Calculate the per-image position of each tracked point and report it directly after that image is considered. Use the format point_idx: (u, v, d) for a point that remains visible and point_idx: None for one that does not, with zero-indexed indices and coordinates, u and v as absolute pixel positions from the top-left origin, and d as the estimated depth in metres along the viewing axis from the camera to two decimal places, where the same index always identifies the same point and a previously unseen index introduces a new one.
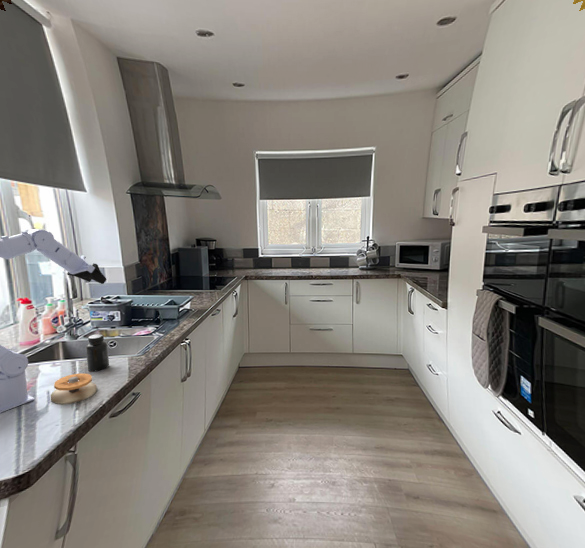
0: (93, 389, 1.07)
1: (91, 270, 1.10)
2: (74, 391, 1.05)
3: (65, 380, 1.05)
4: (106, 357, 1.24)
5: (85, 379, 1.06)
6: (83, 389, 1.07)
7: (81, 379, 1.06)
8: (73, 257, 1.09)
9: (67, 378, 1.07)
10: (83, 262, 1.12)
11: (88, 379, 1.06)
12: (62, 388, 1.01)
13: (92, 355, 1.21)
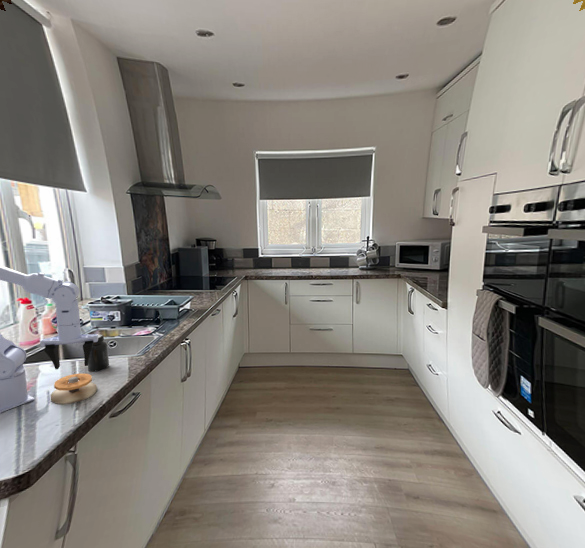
0: (93, 389, 1.07)
1: (97, 339, 1.06)
2: (74, 391, 1.05)
3: (65, 380, 1.05)
4: (106, 357, 1.24)
5: (85, 379, 1.06)
6: (83, 389, 1.07)
7: (81, 379, 1.06)
8: None
9: (67, 378, 1.07)
10: (81, 335, 1.06)
11: (88, 379, 1.06)
12: (62, 388, 1.01)
13: (92, 355, 1.21)
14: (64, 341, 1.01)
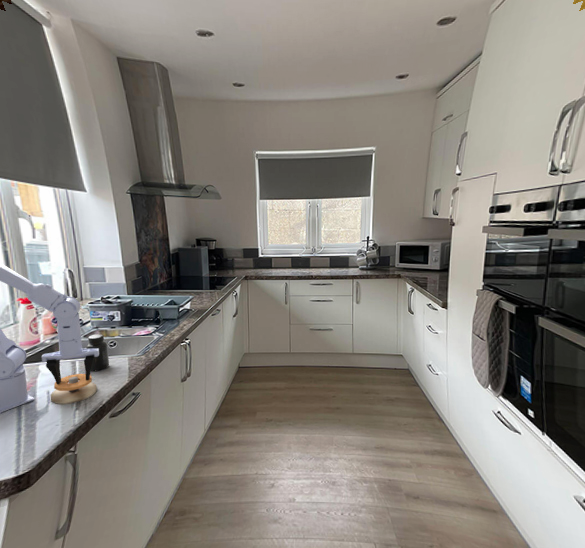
0: (93, 389, 1.07)
1: (98, 354, 1.07)
2: (74, 391, 1.05)
3: (65, 380, 1.05)
4: (106, 357, 1.24)
5: (85, 379, 1.06)
6: (83, 389, 1.07)
7: (81, 379, 1.06)
8: None
9: (67, 378, 1.07)
10: (82, 349, 1.06)
11: None
12: (62, 388, 1.01)
13: None
14: (65, 356, 1.01)
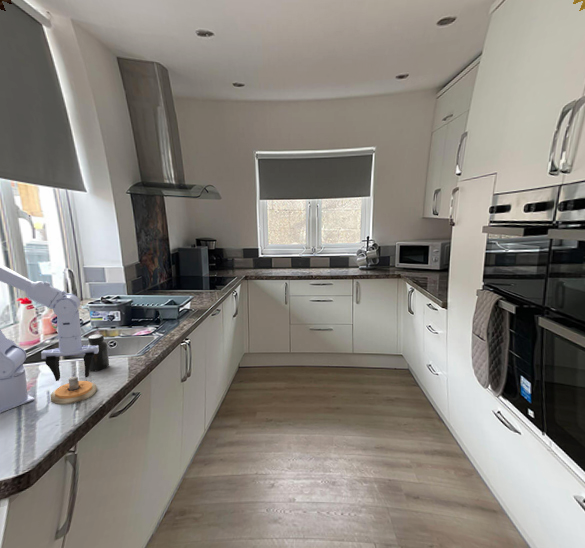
0: (93, 389, 1.07)
1: (98, 351, 1.06)
2: None
3: (66, 388, 1.06)
4: (106, 357, 1.24)
5: (86, 387, 1.07)
6: None
7: (82, 387, 1.07)
8: (80, 336, 1.05)
9: (68, 386, 1.07)
10: (81, 346, 1.06)
11: (89, 387, 1.07)
12: (63, 396, 1.01)
13: None
14: (65, 353, 1.01)
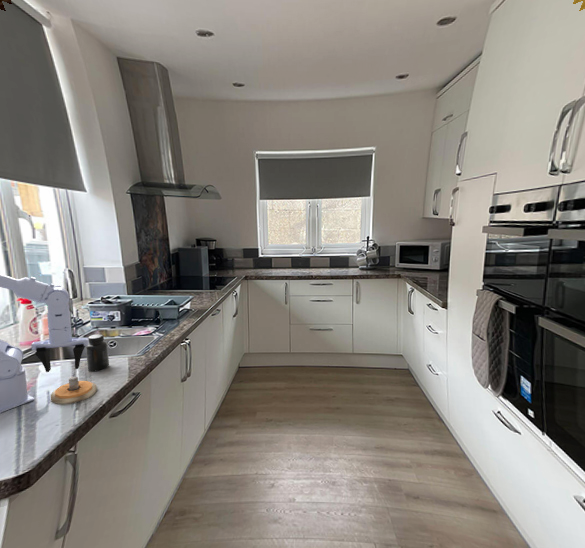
0: (93, 389, 1.07)
1: (87, 343, 1.07)
2: None
3: (66, 388, 1.06)
4: (106, 357, 1.24)
5: (86, 387, 1.07)
6: None
7: (82, 387, 1.07)
8: None
9: (68, 386, 1.07)
10: (72, 338, 1.07)
11: (89, 387, 1.07)
12: (63, 396, 1.01)
13: (92, 355, 1.21)
14: (55, 344, 1.02)
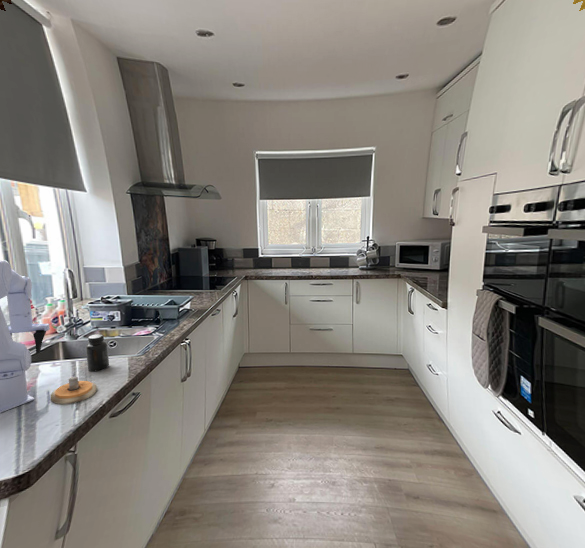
0: (93, 389, 1.07)
1: (48, 329, 1.14)
2: None
3: (66, 388, 1.06)
4: (106, 357, 1.24)
5: (86, 387, 1.07)
6: None
7: (82, 387, 1.07)
8: (31, 314, 1.13)
9: (68, 386, 1.07)
10: (33, 324, 1.14)
11: (89, 387, 1.07)
12: (63, 396, 1.01)
13: (92, 355, 1.21)
14: (15, 329, 1.08)
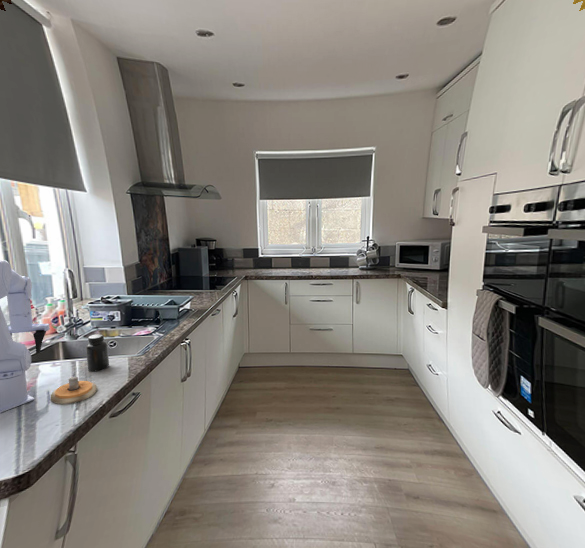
0: (93, 389, 1.07)
1: (48, 329, 1.14)
2: None
3: (66, 388, 1.06)
4: (106, 357, 1.24)
5: (86, 387, 1.07)
6: None
7: (82, 387, 1.07)
8: (31, 314, 1.13)
9: (68, 386, 1.07)
10: (33, 324, 1.14)
11: (89, 387, 1.07)
12: (63, 396, 1.01)
13: (92, 355, 1.21)
14: (15, 329, 1.08)
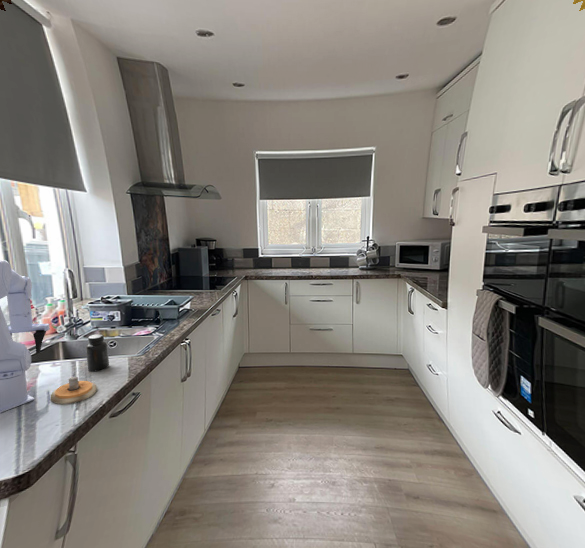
0: (93, 389, 1.07)
1: (48, 329, 1.14)
2: None
3: (66, 388, 1.06)
4: (106, 357, 1.24)
5: (86, 387, 1.07)
6: None
7: (82, 387, 1.07)
8: (31, 314, 1.13)
9: (68, 386, 1.07)
10: (33, 324, 1.14)
11: (89, 387, 1.07)
12: (63, 396, 1.01)
13: (92, 355, 1.21)
14: (15, 329, 1.08)
